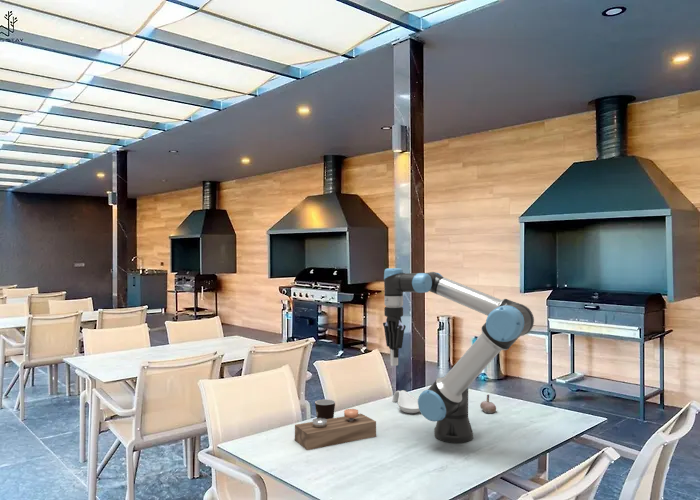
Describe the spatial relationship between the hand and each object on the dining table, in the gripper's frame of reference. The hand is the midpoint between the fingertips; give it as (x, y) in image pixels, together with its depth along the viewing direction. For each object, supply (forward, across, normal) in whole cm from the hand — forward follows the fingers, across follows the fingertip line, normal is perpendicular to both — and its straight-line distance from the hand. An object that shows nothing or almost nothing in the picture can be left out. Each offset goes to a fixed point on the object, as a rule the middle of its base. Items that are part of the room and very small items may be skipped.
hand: (394, 365), depth 206 cm
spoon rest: (+29, -30, +26) cm, 49 cm away
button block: (+28, -10, -22) cm, 37 cm away
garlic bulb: (+29, -6, +56) cm, 63 cm away
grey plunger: (+28, -10, -29) cm, 41 cm away
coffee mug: (+28, -26, -18) cm, 42 cm away
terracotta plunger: (+26, -9, -15) cm, 32 cm away
